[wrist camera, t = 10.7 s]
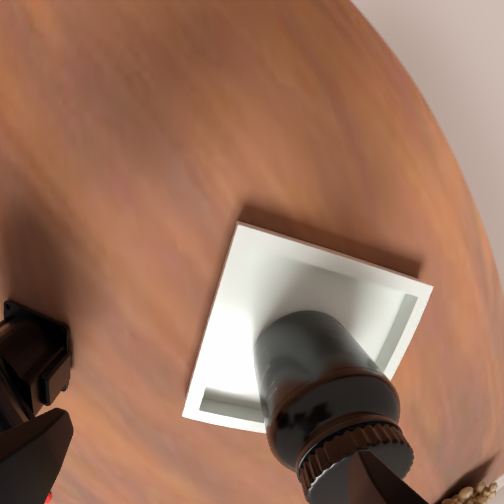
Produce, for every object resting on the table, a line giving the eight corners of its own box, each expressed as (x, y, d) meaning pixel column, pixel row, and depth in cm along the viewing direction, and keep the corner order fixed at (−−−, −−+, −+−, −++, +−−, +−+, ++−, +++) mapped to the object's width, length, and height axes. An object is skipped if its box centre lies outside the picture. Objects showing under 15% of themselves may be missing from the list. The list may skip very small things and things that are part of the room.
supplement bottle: (302, 404, 22) (345, 531, 10) (232, 359, 21) (238, 504, 9) (366, 341, 21) (456, 448, 10) (300, 286, 20) (379, 397, 8)
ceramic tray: (185, 398, 22) (182, 416, 20) (237, 220, 20) (238, 224, 18) (346, 425, 24) (353, 441, 22) (417, 278, 21) (433, 286, 19)
